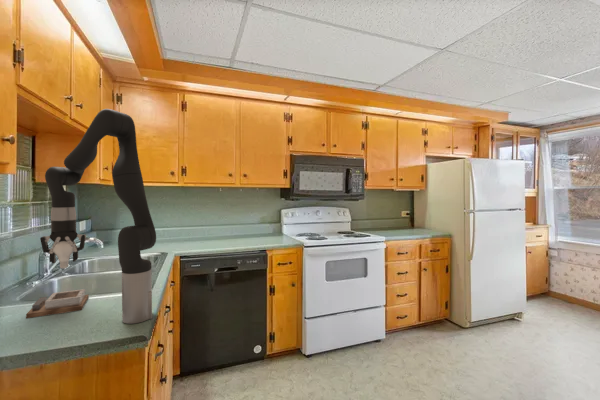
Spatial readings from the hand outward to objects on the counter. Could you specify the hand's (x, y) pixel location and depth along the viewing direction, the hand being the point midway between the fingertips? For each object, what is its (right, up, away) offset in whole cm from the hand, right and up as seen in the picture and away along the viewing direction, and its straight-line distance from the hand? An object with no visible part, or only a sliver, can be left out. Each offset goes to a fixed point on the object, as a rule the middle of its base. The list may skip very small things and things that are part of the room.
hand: (64, 261), depth 112 cm
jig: (-2, -18, 0) cm, 18 cm away
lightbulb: (0, -3, 0) cm, 3 cm away
